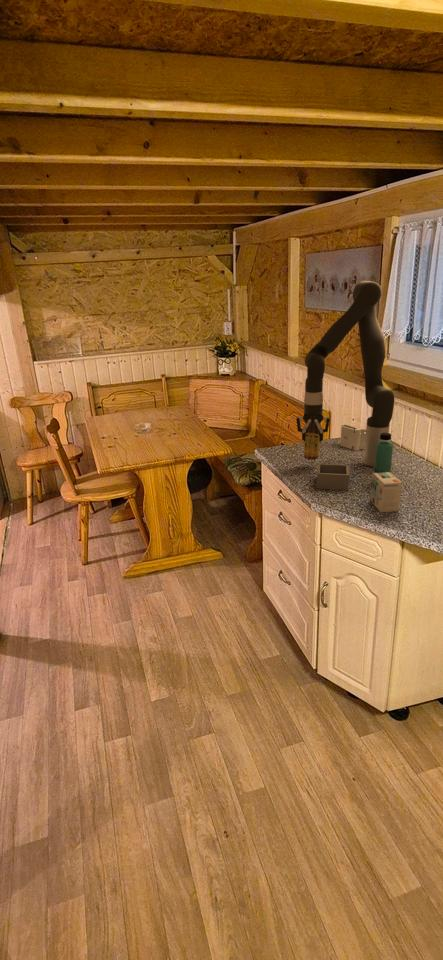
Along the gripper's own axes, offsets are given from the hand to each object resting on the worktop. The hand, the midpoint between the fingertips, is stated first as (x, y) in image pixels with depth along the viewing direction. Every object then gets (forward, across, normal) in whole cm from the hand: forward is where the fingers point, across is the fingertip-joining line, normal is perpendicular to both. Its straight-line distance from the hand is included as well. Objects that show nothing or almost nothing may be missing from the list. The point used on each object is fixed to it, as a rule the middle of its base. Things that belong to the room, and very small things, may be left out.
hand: (312, 441), depth 216 cm
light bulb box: (+12, -27, +37) cm, 47 cm away
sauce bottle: (+8, 0, 0) cm, 8 cm away
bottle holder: (+12, -9, +18) cm, 23 cm away
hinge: (+12, -18, -30) cm, 37 cm away
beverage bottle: (+12, -28, +14) cm, 33 cm away
